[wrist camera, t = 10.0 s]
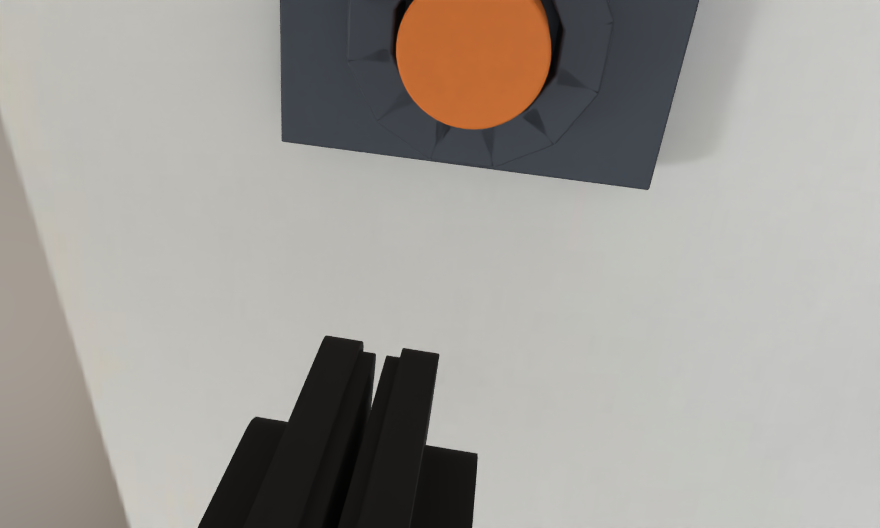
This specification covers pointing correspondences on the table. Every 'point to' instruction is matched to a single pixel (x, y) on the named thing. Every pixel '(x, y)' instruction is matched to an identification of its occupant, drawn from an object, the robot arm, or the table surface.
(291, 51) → the control block
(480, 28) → the button
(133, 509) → the table surface
